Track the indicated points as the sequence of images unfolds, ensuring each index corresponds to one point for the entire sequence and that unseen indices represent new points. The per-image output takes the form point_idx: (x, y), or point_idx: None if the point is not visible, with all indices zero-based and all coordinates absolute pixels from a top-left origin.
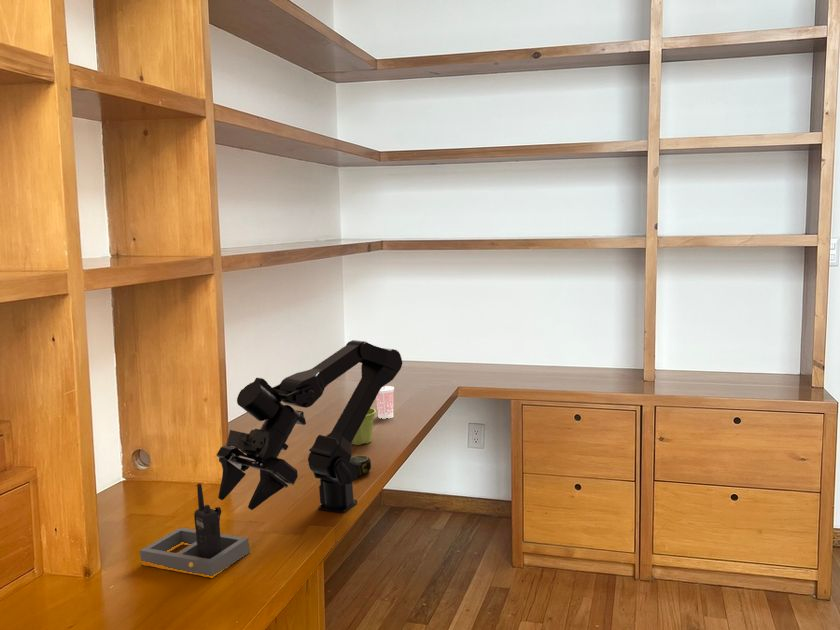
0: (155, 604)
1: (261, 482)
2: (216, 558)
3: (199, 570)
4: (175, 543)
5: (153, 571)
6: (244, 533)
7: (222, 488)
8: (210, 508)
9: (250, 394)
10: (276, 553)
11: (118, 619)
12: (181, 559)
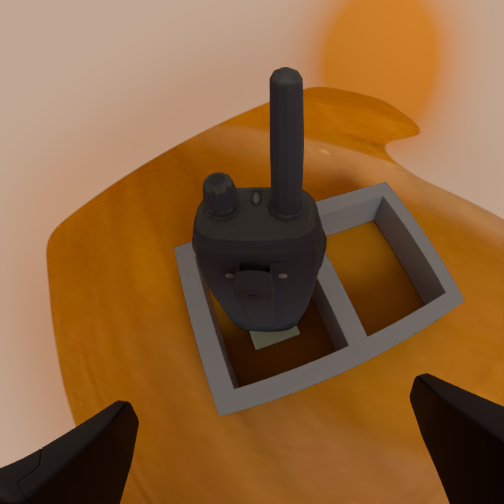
0: (200, 168)
1: (8, 483)
2: (180, 269)
3: None
4: (421, 282)
5: None
6: (368, 471)
7: (450, 402)
8: (211, 207)
9: None
10: (163, 450)
11: (210, 132)
12: None
